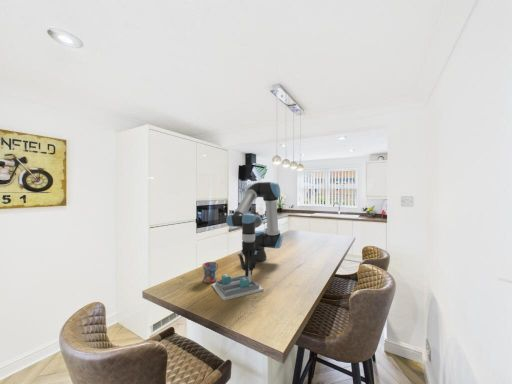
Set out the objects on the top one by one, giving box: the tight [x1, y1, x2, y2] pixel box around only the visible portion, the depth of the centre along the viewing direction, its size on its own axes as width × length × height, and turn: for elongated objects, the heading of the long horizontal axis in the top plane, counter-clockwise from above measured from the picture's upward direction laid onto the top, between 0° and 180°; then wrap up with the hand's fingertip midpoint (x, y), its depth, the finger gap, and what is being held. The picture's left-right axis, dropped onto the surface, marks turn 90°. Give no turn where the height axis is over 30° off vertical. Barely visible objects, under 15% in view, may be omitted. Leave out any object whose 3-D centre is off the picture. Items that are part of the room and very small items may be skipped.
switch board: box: [211, 274, 264, 302], centre depth 125 cm, size 24×20×3 cm
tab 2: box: [240, 277, 249, 288], centre depth 122 cm, size 4×4×6 cm
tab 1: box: [221, 273, 232, 285], centre depth 127 cm, size 4×4×6 cm
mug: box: [201, 261, 219, 284], centre depth 136 cm, size 12×9×11 cm
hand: (248, 281), depth 124 cm, fingers closed
